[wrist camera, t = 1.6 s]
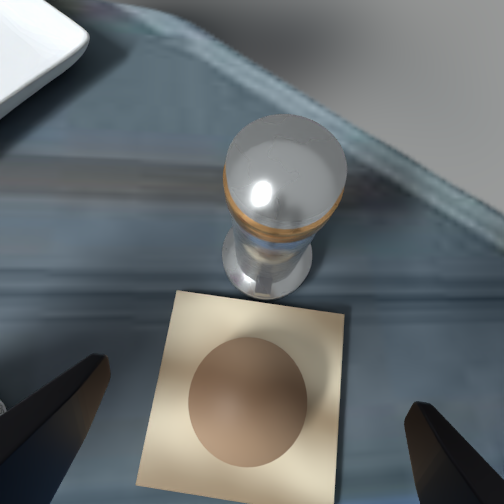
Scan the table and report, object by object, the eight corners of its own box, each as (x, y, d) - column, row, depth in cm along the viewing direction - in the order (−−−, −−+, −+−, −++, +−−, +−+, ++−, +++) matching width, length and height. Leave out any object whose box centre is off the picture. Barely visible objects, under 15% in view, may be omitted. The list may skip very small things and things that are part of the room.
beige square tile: (329, 510, 19) (343, 538, 17) (139, 479, 20) (121, 502, 17) (341, 315, 23) (354, 311, 20) (179, 292, 23) (169, 284, 20)
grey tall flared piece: (304, 307, 23) (371, 262, 11) (216, 294, 23) (181, 235, 11) (311, 224, 25) (376, 103, 12) (230, 213, 25) (215, 82, 13)
